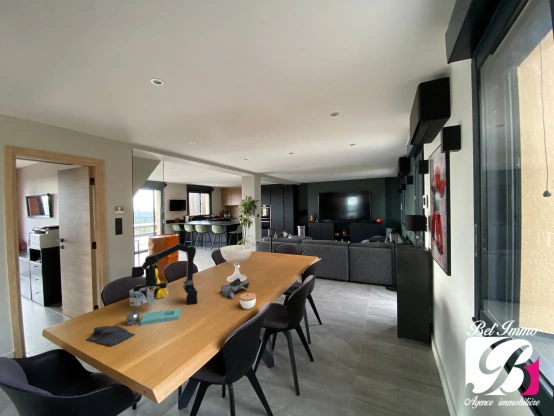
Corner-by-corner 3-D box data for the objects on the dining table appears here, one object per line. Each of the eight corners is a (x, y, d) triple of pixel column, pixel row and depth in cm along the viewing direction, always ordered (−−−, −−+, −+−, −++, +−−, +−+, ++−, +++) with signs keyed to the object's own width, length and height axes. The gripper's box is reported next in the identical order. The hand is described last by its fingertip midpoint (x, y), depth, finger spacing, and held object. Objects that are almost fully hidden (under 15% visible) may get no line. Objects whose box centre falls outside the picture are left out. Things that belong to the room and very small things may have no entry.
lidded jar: (259, 307, 148) (259, 292, 148) (247, 313, 141) (246, 298, 140) (249, 302, 156) (248, 289, 156) (236, 308, 148) (236, 293, 148)
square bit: (155, 301, 148) (155, 288, 148) (154, 303, 144) (153, 291, 144) (148, 301, 147) (148, 289, 147) (147, 304, 143) (146, 291, 143)
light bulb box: (137, 306, 154) (137, 291, 154) (129, 306, 155) (128, 290, 155) (149, 300, 164) (149, 285, 164) (141, 299, 166) (141, 285, 166)
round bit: (141, 320, 135) (140, 310, 135) (137, 325, 129) (137, 315, 129) (128, 321, 134) (128, 311, 134) (124, 327, 127) (124, 316, 127)
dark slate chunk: (106, 352, 106) (106, 342, 106) (83, 341, 116) (82, 332, 116) (139, 335, 120) (138, 326, 120) (115, 326, 130) (115, 318, 130)
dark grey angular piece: (218, 293, 174) (218, 282, 173) (240, 286, 187) (240, 276, 187) (230, 300, 160) (230, 288, 160) (253, 292, 174) (253, 281, 174)
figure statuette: (170, 297, 168) (169, 268, 168) (161, 301, 161) (160, 271, 161) (155, 293, 177) (155, 265, 176) (146, 297, 170) (145, 268, 170)
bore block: (180, 311, 145) (180, 307, 145) (178, 320, 134) (178, 315, 134) (145, 316, 139) (145, 312, 139) (140, 325, 128) (140, 321, 128)
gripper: (168, 270, 156) (169, 292, 156) (138, 273, 151) (138, 296, 151) (165, 275, 145) (166, 299, 145) (132, 278, 140) (133, 303, 140)
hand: (151, 299), depth 146 cm, fingers closed on square bit, 4 cm apart
